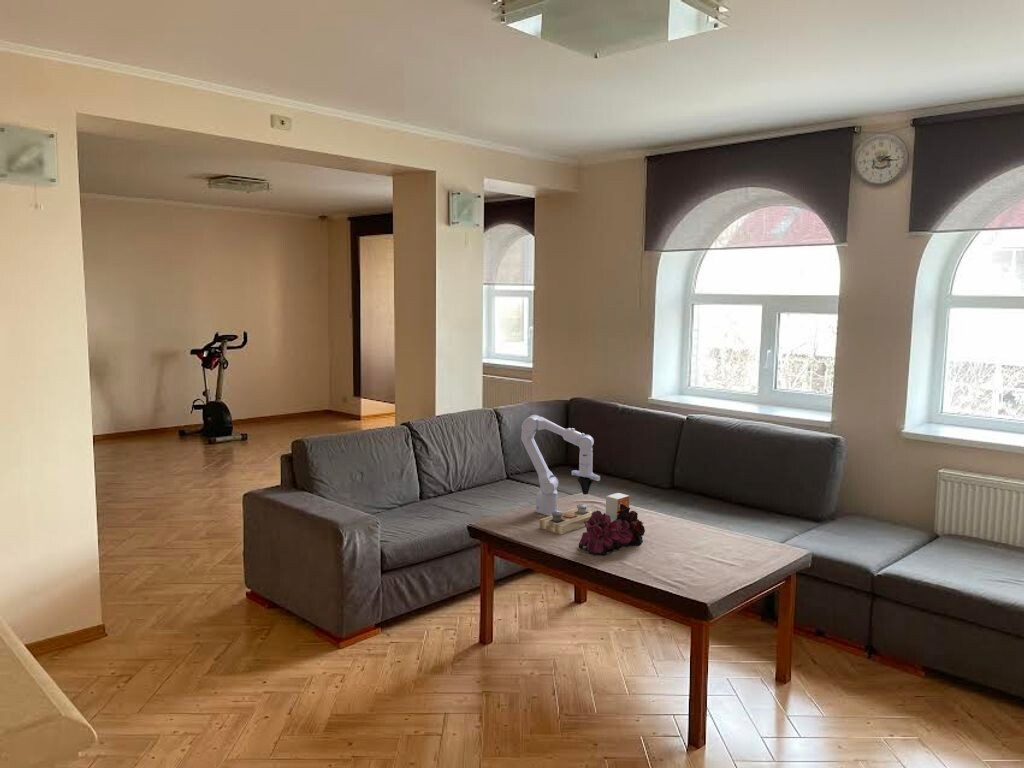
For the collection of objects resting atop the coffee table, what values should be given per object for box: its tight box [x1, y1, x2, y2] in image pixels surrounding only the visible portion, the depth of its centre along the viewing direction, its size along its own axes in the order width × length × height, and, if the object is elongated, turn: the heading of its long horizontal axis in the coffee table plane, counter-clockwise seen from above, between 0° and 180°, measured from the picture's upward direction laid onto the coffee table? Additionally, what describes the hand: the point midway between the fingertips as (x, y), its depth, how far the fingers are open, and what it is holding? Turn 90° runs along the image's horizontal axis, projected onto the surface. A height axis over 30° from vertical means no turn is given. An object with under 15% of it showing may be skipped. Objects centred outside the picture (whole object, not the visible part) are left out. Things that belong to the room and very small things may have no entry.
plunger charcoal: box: [552, 512, 562, 523], centre depth 305 cm, size 4×4×4 cm
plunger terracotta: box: [564, 513, 575, 519], centre depth 311 cm, size 4×4×4 cm
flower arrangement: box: [578, 504, 646, 557], centre depth 286 cm, size 31×20×15 cm, turn 141°
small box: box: [605, 492, 630, 522], centre depth 309 cm, size 8×6×13 cm
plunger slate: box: [576, 503, 588, 515], centre depth 317 cm, size 4×4×4 cm
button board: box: [539, 507, 594, 535], centre depth 311 cm, size 12×24×4 cm, turn 135°
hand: (585, 493), depth 322 cm, fingers closed
